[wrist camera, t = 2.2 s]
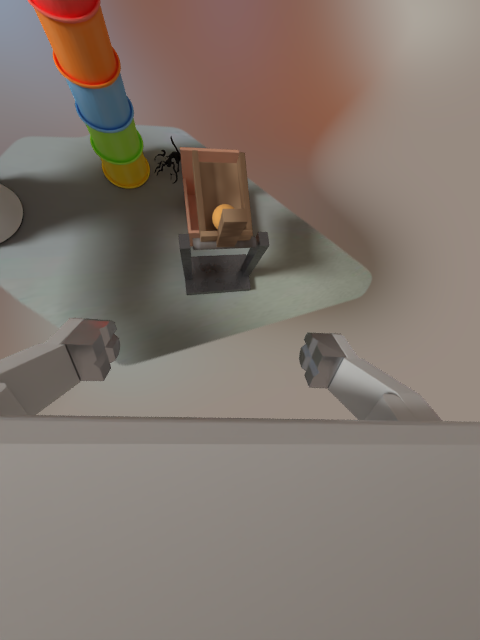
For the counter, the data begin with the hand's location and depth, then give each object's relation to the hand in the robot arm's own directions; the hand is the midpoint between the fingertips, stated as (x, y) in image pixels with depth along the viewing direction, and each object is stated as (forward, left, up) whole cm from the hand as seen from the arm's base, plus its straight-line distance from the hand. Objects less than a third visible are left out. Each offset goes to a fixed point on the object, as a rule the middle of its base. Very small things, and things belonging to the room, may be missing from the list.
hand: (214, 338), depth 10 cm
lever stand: (+5, +17, -41) cm, 45 cm away
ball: (+5, +19, -22) cm, 30 cm away
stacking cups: (-13, +44, -42) cm, 62 cm away
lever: (+5, +23, -25) cm, 35 cm away
